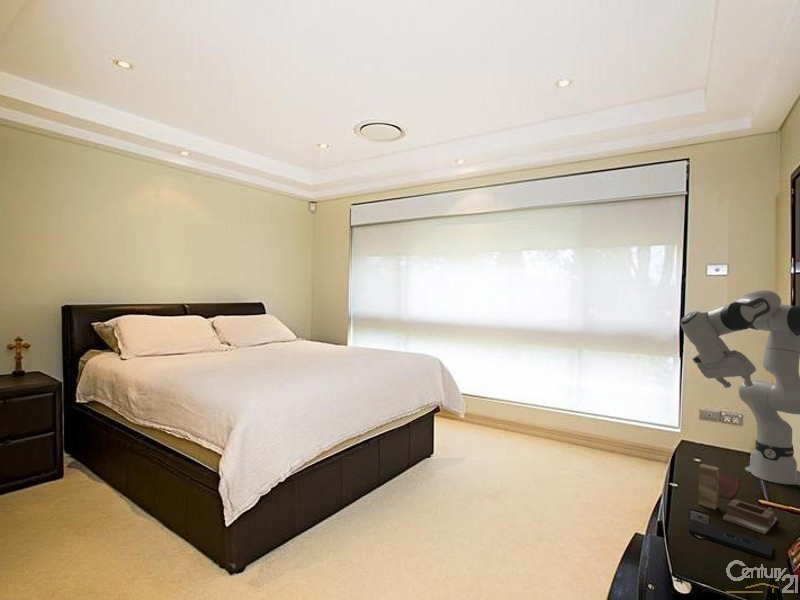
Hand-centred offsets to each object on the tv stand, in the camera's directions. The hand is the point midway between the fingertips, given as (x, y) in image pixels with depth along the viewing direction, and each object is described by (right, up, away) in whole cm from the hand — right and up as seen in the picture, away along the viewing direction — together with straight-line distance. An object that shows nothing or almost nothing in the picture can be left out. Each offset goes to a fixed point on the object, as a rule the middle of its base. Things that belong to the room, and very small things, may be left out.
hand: (739, 386), depth 157 cm
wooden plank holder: (-5, -43, -11) cm, 44 cm away
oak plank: (-12, -42, -2) cm, 44 cm away
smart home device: (-21, -43, -23) cm, 53 cm away
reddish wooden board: (+6, -43, +16) cm, 46 cm away
